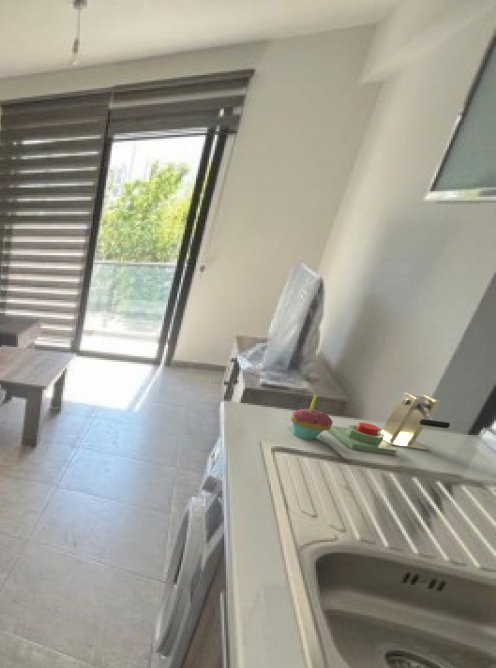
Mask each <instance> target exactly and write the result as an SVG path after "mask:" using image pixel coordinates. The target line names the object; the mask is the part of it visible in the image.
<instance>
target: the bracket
mask: <svg viewBox="0 0 496 668" xmlns="http://www.w3.org/2000/svg"><path fill="white" fill-rule="evenodd" d="M416 396H417V395H415V394H412V393H411V392H404V393H403V395H402V397H401V398H400V399H399V402H398V404H397V405H396V406H395V409H394V410H393V411H392V413H391V414H390V416H389V418H388V420H387V421H386V423H385V424H384V426H383V428H382V429H380V428H379V432H381V433H382V434H384V438H383V441H384V442H386V443H387V444H389V445H390V446H397V447H404V448H411V449H417V450H423V451H428V448H426V447H425V446H424V445H422V444H421V443H419V442H417V441H416V440H417V438H418V436H419V435H420V434H421V432H422V430H423V429H424V428H425V427H426V426H425V425H420V421H421V420H422V419H426V418H425V417H424V416H423V415H422V413H421V412H420V411H418V410H415V408H416V407H417V405H418V403H419V402H420V400H421V399H420V398H418V397H416ZM422 397H425V399H426V400H427V401H428V402H429V403H430V404H429V405H428V406H427V409H428V410H429V411H430V412H431V414H432V415H433V414H434V412H435V411H436V409H437V408H438V407H439V405H440V404H441V400H438V399H437V398H434V397H433V396H431V395H430V394H423V396H422Z"/></svg>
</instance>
